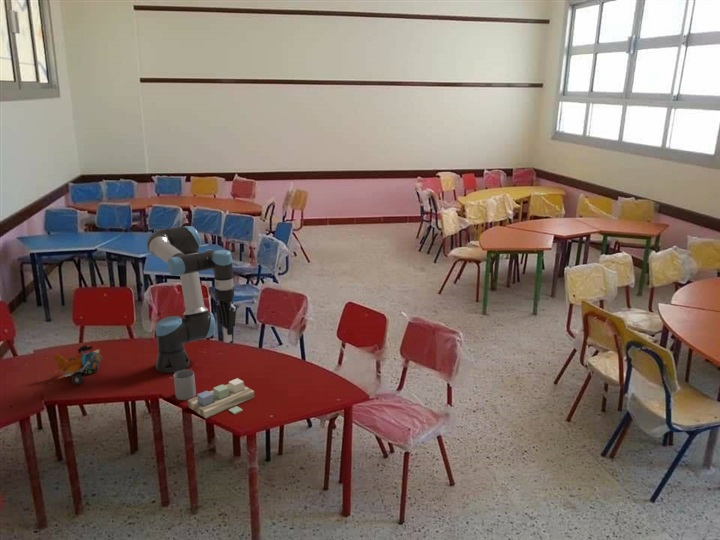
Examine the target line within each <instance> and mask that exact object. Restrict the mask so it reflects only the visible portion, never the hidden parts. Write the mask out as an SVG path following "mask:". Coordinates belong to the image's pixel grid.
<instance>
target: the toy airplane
mask: <svg viewBox="0 0 720 540" xmlns="http://www.w3.org/2000/svg"><path fill="white" fill-rule="evenodd" d="M101 352H102V348H97V349H95V350H93V346H91V345H90V346H87V344H86V345H85V344H84V345H82V346H80V347H79V348H78V349H77V353H76V354H75V357H73V356H70V357H68V360H67V359H65V358H64V357H63V356H62V355H60V354H59V353H57V354H53V358H54V360H55V362H56V364H57V366H58V369H57V370H55V371H54V374H57V373H59V372H61V373H62V374H63V375H62V376H59V377H57V380H59V379H63V378H69V377H71V382H72V383H73V384H74V385H76V384H80V385H82V384H83V382H84V377H85V375H91V374H92V373H97V372H98V371H99V369H100V368H99V366H100V364H101V362H102V361H103V359H104V358H103V355H101ZM68 376H69V377H68ZM81 383H82V384H81Z"/></svg>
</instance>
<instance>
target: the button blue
mask: <svg viewBox="0 0 720 540" xmlns="http://www.w3.org/2000/svg"><path fill="white" fill-rule="evenodd" d="M196 397H197V399H198V404H199V405H201V406H202V407H205V406H207V405H210V404H212V403H214V402H213V394H212V393H210V391H208V390H204V391H202V392H200V393H196Z"/></svg>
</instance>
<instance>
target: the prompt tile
mask: <svg viewBox="0 0 720 540" xmlns="http://www.w3.org/2000/svg"><path fill="white" fill-rule="evenodd" d="M228 412H230V413H231V414H232V415H236V414H238V413H241V412H243V409H242V408H241V407H239V406H238V405H236V406H234V407H231V408H229V409H228Z"/></svg>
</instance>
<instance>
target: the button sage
mask: <svg viewBox="0 0 720 540" xmlns="http://www.w3.org/2000/svg"><path fill="white" fill-rule="evenodd" d="M225 385H226V384H224V383H223V384H219V385H217V386H214V387H213V388H212V389H213V392H214V397H215V398H216V399H218V400H222V399H224V398H226V397H229V388H228V387H226V386H225Z"/></svg>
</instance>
